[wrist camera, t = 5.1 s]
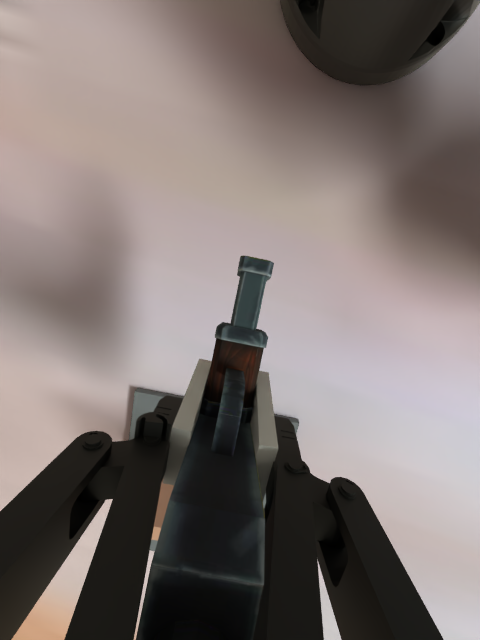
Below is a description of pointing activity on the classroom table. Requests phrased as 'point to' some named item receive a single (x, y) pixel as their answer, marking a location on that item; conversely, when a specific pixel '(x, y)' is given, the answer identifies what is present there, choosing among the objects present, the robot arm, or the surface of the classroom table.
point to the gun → (216, 496)
